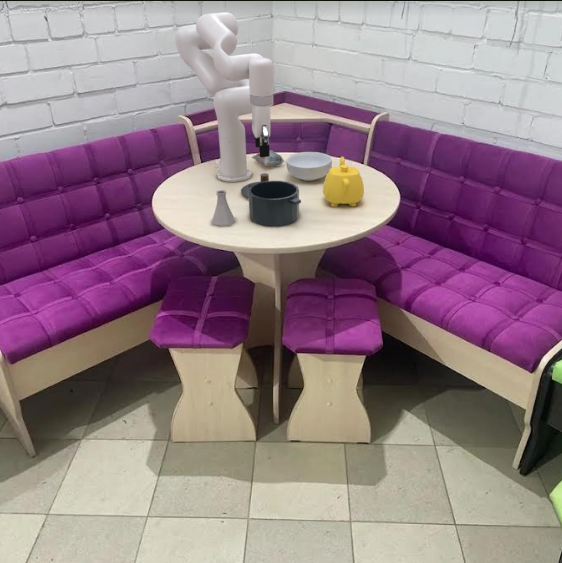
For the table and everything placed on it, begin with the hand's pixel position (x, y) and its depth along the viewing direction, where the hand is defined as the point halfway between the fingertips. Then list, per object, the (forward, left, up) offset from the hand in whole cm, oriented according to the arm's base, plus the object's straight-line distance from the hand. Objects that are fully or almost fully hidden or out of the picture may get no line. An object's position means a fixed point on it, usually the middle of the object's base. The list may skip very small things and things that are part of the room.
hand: (262, 151), depth 189 cm
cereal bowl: (+6, +21, -15) cm, 26 cm away
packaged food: (-15, +24, -15) cm, 32 cm away
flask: (+4, -26, -15) cm, 30 cm away
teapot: (+27, +9, -15) cm, 32 cm away
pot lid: (+1, 0, -14) cm, 14 cm away
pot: (+15, -14, -15) cm, 25 cm away
